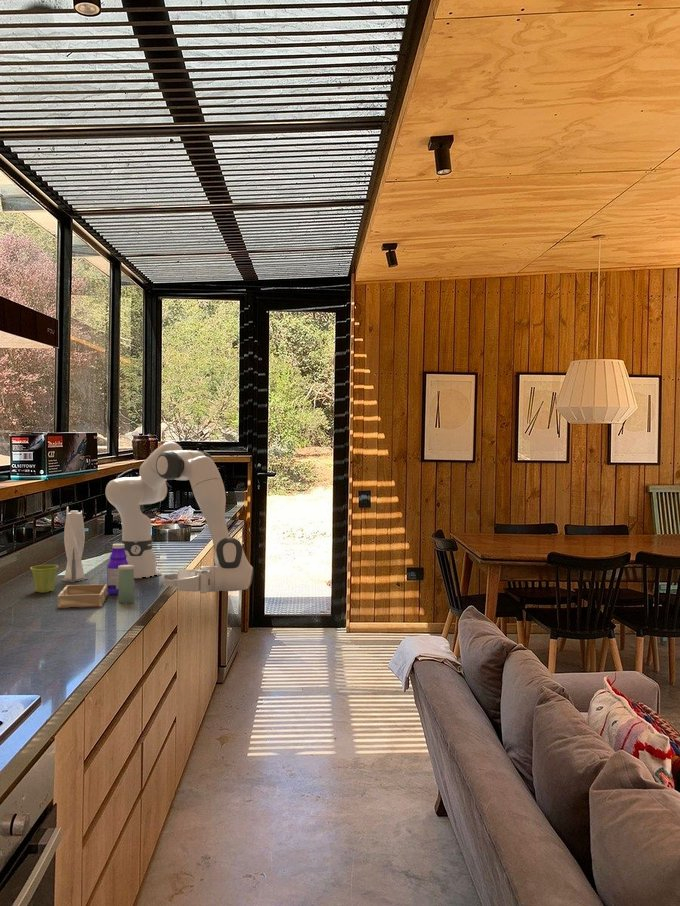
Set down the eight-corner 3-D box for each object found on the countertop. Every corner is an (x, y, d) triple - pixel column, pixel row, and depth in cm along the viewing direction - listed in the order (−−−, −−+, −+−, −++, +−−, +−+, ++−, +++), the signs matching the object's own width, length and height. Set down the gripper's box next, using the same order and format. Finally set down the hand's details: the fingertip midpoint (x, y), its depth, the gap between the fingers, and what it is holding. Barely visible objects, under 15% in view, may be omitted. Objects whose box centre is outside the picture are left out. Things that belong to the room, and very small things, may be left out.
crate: (66, 596, 268) (66, 585, 268) (107, 595, 271) (107, 584, 271) (57, 608, 251) (57, 595, 251) (101, 606, 254) (101, 594, 254)
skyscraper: (57, 580, 298) (57, 506, 297) (74, 577, 305) (73, 505, 304) (73, 582, 294) (73, 508, 293) (89, 579, 301) (89, 506, 301)
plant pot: (28, 594, 272) (28, 569, 272) (31, 589, 281) (31, 565, 281) (57, 593, 274) (57, 568, 274) (59, 588, 284) (59, 564, 283)
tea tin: (118, 600, 263) (118, 564, 262) (134, 600, 264) (134, 564, 263) (117, 604, 258) (117, 567, 257) (133, 603, 259) (133, 567, 258)
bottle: (130, 591, 278) (130, 542, 277) (126, 595, 272) (126, 545, 271) (109, 591, 277) (109, 542, 277) (105, 595, 272) (105, 545, 271)
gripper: (204, 564, 275) (164, 565, 273) (205, 574, 255) (162, 576, 253) (204, 582, 275) (164, 583, 273) (205, 594, 255) (162, 595, 253)
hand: (163, 580), depth 263 cm, fingers open, 8 cm apart
